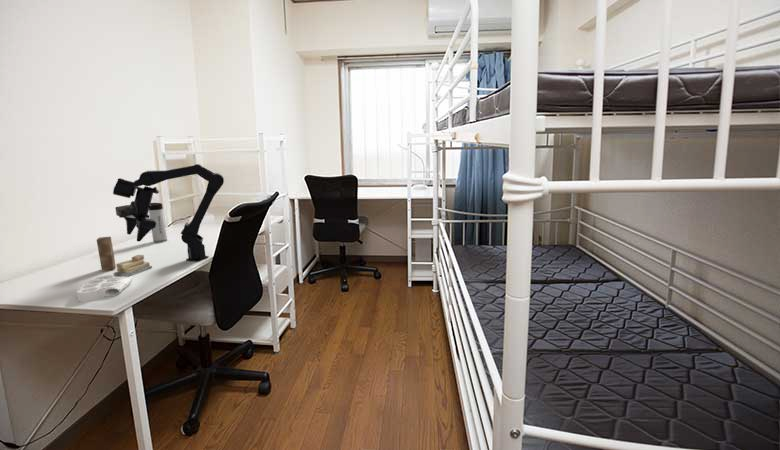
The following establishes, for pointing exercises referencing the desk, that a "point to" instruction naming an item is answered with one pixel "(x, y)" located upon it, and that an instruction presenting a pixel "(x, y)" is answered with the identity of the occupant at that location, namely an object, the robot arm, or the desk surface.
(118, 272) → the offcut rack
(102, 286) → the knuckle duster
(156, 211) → the travel mug
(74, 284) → the desk surface
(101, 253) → the walnut block
